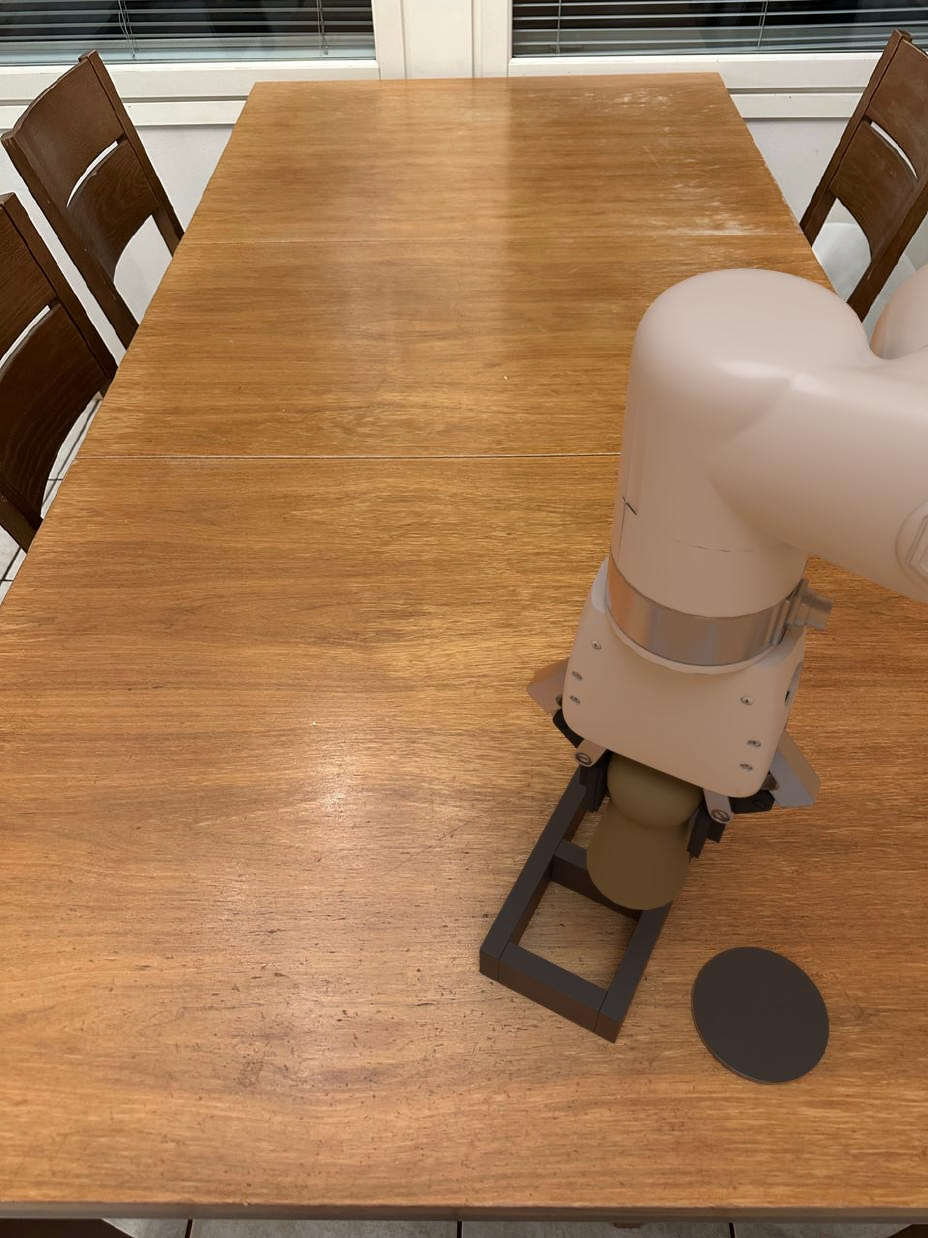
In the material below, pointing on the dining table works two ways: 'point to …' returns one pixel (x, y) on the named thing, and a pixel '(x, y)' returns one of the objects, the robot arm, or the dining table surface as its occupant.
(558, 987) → the holder
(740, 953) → the coaster
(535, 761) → the dining table surface
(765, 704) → the robot arm
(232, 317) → the dining table surface
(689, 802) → the cork
